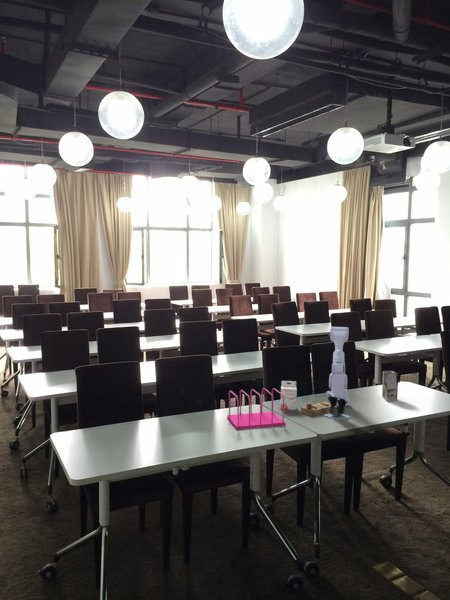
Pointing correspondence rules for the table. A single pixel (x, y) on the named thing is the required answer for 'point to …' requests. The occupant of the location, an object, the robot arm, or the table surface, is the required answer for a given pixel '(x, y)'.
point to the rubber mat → (337, 417)
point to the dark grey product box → (335, 410)
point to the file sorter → (255, 414)
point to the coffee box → (390, 386)
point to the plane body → (316, 408)
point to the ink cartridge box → (289, 395)
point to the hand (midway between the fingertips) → (337, 411)
